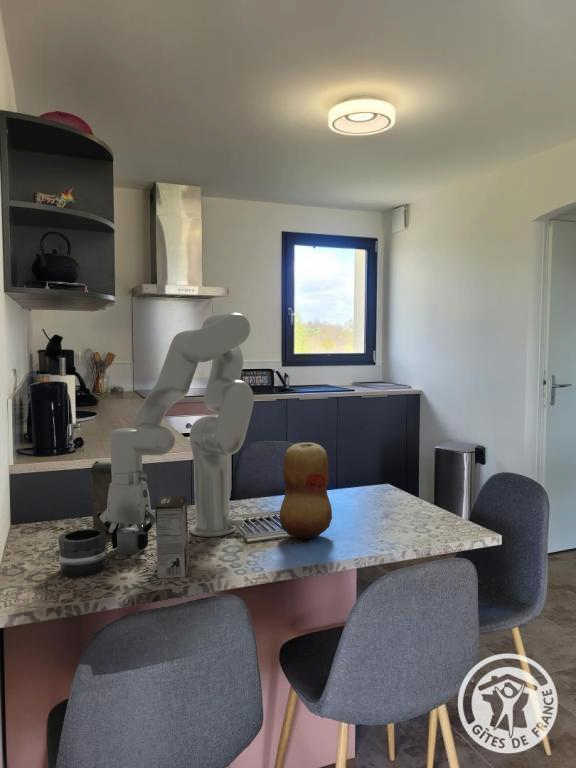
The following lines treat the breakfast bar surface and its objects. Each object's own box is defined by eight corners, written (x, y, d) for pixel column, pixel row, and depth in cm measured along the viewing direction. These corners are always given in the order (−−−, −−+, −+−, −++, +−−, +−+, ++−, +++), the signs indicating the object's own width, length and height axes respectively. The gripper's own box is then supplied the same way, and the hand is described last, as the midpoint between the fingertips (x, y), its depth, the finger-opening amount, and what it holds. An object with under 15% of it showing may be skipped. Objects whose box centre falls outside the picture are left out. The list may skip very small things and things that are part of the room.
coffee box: (161, 564, 136) (159, 496, 135) (189, 562, 137) (187, 494, 136) (156, 579, 127) (153, 506, 126) (186, 577, 128) (183, 504, 127)
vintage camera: (145, 519, 175) (142, 454, 175) (125, 533, 160) (122, 461, 160) (114, 520, 176) (111, 454, 176) (92, 534, 161) (89, 462, 161)
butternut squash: (294, 549, 144) (291, 449, 143) (272, 534, 156) (270, 442, 155) (342, 540, 150) (340, 444, 149) (317, 527, 162) (316, 438, 161)
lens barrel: (115, 562, 138) (114, 529, 137) (91, 579, 128) (89, 543, 127) (77, 559, 140) (75, 527, 140) (50, 576, 130) (48, 540, 130)
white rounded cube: (146, 546, 149) (145, 526, 149) (135, 554, 143) (134, 534, 143) (124, 545, 150) (123, 525, 150) (113, 553, 144) (112, 533, 144)
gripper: (165, 475, 147) (168, 545, 148) (104, 473, 151) (107, 541, 152) (152, 482, 140) (154, 555, 141) (88, 479, 144) (90, 550, 145)
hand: (129, 547), depth 147 cm, fingers open, 6 cm apart
